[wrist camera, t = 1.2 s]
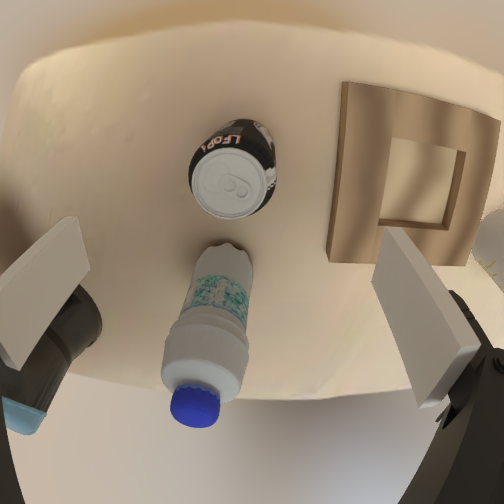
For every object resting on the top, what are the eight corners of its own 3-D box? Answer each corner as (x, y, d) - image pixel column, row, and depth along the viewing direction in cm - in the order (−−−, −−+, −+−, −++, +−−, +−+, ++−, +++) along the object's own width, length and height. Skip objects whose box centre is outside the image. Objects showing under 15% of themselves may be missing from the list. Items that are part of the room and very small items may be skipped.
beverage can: (257, 185, 30) (250, 243, 20) (205, 160, 29) (168, 205, 19) (284, 135, 27) (295, 166, 17) (230, 108, 26) (204, 122, 16)
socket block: (325, 250, 33) (329, 262, 31) (342, 82, 24) (348, 81, 22) (456, 256, 33) (465, 266, 31) (488, 117, 24) (500, 121, 21)
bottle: (198, 231, 33) (135, 387, 16) (260, 240, 33) (249, 407, 16) (196, 281, 36) (149, 432, 19) (251, 289, 37) (237, 448, 19)
